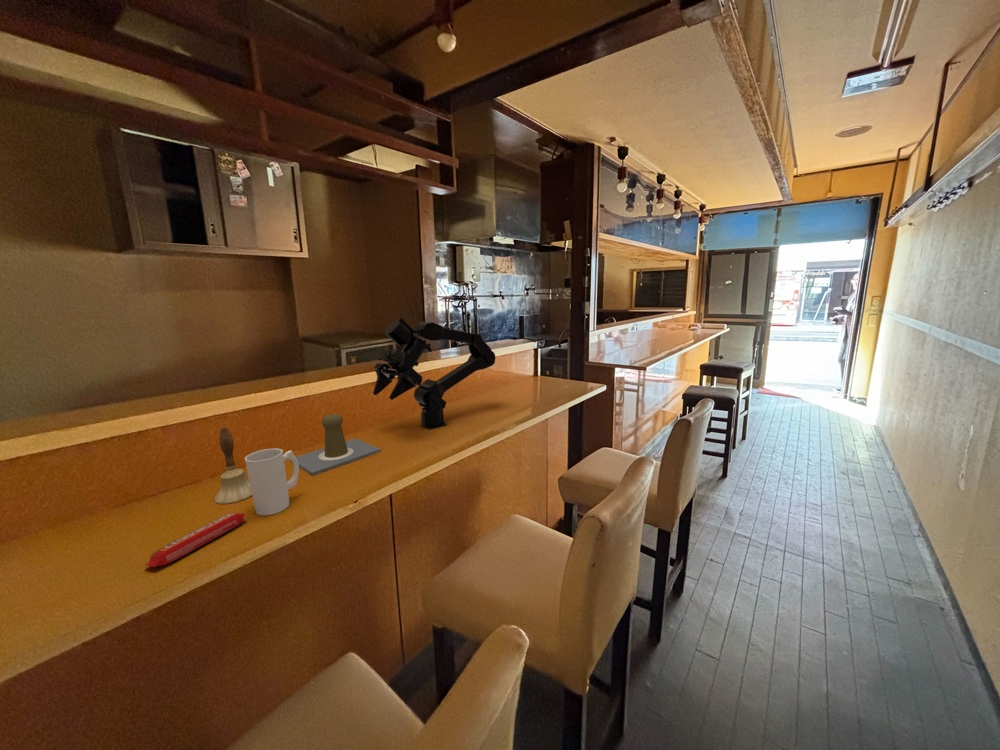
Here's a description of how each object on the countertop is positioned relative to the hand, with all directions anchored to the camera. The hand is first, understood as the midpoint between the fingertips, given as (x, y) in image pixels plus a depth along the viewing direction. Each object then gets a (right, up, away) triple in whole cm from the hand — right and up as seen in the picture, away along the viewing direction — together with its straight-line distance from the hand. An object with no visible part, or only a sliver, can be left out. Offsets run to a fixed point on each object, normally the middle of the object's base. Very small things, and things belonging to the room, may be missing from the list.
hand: (382, 396), depth 119 cm
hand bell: (-25, -21, -28) cm, 43 cm away
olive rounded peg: (-10, -15, -9) cm, 20 cm away
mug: (-12, -21, -34) cm, 42 cm away
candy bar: (-19, -25, -46) cm, 56 cm away
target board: (-10, -16, -9) cm, 21 cm away
